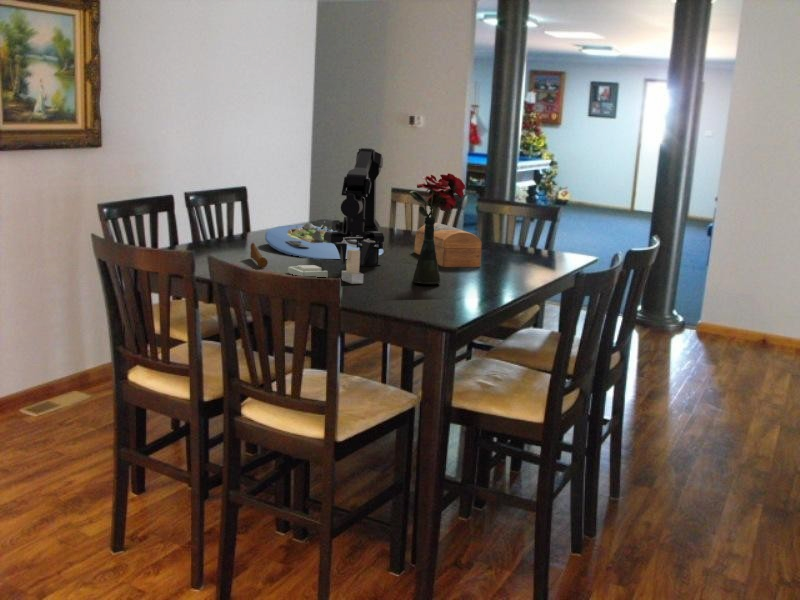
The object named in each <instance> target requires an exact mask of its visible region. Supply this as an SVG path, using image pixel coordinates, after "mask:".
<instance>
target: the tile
mask: <svg viewBox="0 0 800 600" xmlns="http://www.w3.org/2000/svg"><path fill="white" fill-rule="evenodd" d="M297 269H298V270H301V271H303V272H306V271H323V270H322V267H321V266H318V265H315V264H305V265H303V264H301V265H299V264H298V265H297Z"/></svg>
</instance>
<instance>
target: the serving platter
mask: <svg viewBox="0 0 800 600" xmlns="http://www.w3.org/2000/svg"><path fill="white" fill-rule="evenodd" d="M323 223H326V221H325V220H323ZM325 232H337V231H333V230H332V226H330V227H329V228H328V226H324V224H321V225H320V226H318V225H313V224H312V222H309V223H305V224H304V225H299V224H297V225H296V224H294V225H293V224H292V225H281V226H280V225H279V226H275V227H273V228H272V227H271V228H270V229H268V230H267V231H266V232H265V234H264V238H265V239H264V240H265V241H266V243H267V244H268V245H269V246H270V247H271V248H273V249H274V250H276V251H278V252H280V253H283V254H285V255H288V256H291V255H293V256H292V257H295V256H299V257H306V258H305V259H309V258H313V259H312V260H320V259H340V256H339V253H338V250H337V248H336V246H335V245H334V244H332V243H331V242H328V241H324V234H325ZM345 243H346V244H347V250H354V249H356V250H359V247H358V248H357V240H345ZM347 250H346V259H347ZM384 252H385V251H384V248H383V249H379V256H382V255H383V254H384ZM299 257H298V258H299Z"/></svg>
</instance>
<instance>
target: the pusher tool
mask: <svg viewBox="0 0 800 600" xmlns="http://www.w3.org/2000/svg"><path fill="white" fill-rule="evenodd" d="M359 264H360V251H359V250H356V249H354V250H347V260H346V264H345V265H346V268H345V270H341V279H342V280H341V281H343V282H346V283H348V284H351V285H355V284H358V285H359V284H364V273H362V272H360V265H359Z"/></svg>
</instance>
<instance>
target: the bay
mask: <svg viewBox="0 0 800 600" xmlns="http://www.w3.org/2000/svg"><path fill="white" fill-rule="evenodd" d="M297 266H298V265H297ZM297 266H294V265H293V266H288V267H287V273H288V274H290V275H292V274H293V276H295V275H301V276H316V277H326V278H329V277H328V275H329V272H328V271H329V270H322V271H306V272H303V271H301V270H298V269H297Z"/></svg>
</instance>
